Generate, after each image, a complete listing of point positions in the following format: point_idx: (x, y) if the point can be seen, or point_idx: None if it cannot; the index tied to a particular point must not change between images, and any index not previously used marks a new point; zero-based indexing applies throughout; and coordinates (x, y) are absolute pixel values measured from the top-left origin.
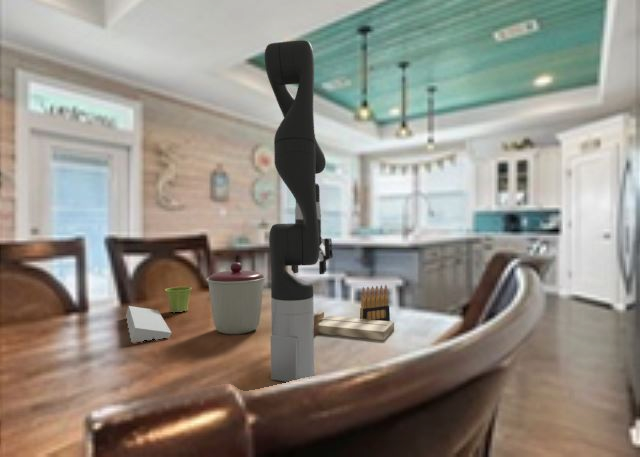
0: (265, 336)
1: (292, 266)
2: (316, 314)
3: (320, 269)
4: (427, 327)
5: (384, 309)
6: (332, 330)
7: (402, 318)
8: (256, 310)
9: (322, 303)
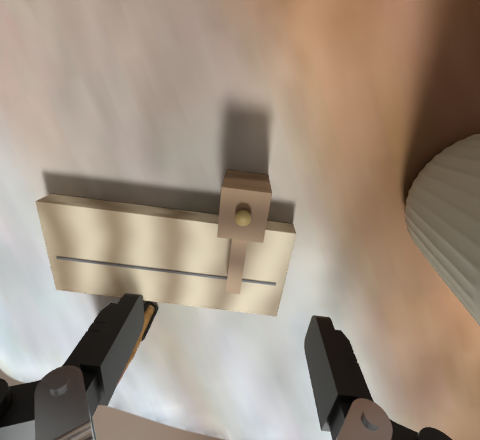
0: (361, 154)
1: (347, 357)
2: (220, 228)
3: (120, 313)
4: (12, 304)
5: None
6: (183, 214)
7: None
8: (436, 205)
9: (292, 426)
